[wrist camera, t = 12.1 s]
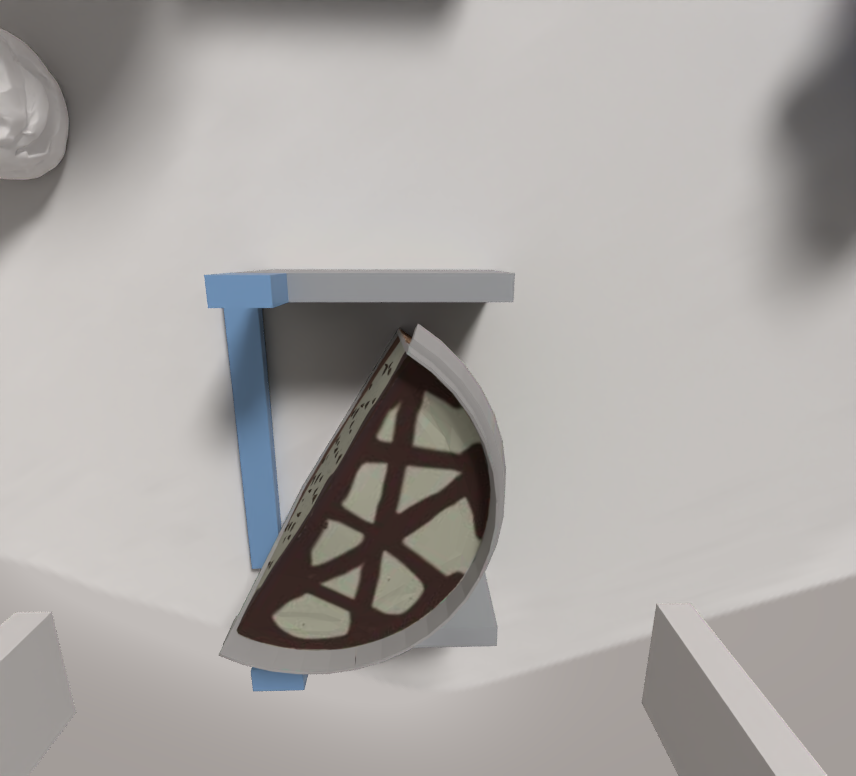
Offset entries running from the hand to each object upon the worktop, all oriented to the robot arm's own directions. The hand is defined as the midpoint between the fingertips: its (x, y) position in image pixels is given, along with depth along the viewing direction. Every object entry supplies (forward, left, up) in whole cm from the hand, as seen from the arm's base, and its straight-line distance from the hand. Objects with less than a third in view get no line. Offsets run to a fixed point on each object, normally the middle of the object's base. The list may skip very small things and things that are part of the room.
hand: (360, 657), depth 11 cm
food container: (-1, 0, -14) cm, 14 cm away
